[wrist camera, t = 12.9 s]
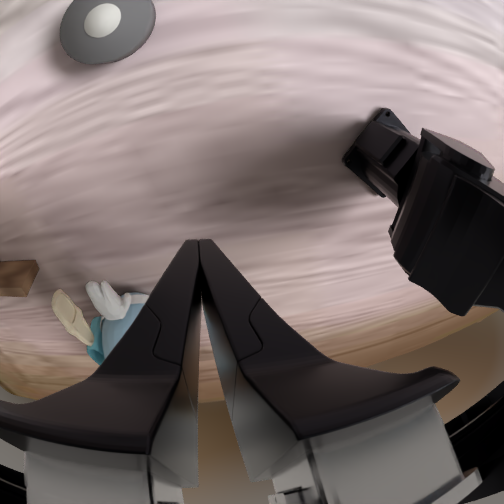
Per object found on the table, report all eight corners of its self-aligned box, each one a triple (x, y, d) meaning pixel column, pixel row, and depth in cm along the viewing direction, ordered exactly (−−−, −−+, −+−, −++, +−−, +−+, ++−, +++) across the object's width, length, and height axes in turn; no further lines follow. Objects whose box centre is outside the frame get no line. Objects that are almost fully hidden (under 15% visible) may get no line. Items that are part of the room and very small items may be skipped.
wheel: (173, 3, 12) (169, -5, 10) (126, 74, 15) (116, 77, 13) (103, -21, 10) (92, -29, 8) (60, 49, 12) (44, 50, 10)
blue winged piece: (206, 337, 34) (221, 452, 23) (131, 349, 34) (129, 457, 22) (161, 228, 24) (150, 399, 12) (64, 254, 23) (17, 398, 12)
